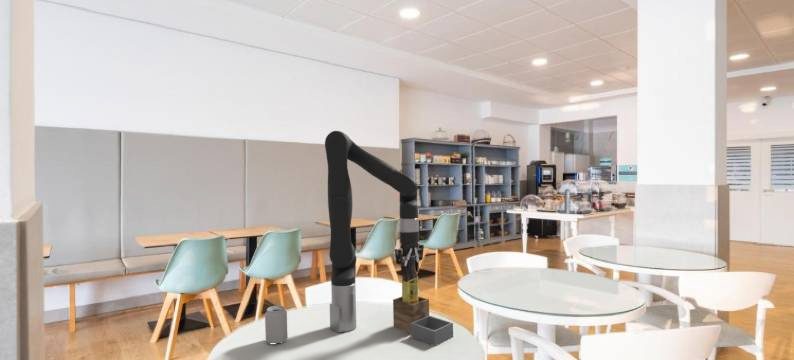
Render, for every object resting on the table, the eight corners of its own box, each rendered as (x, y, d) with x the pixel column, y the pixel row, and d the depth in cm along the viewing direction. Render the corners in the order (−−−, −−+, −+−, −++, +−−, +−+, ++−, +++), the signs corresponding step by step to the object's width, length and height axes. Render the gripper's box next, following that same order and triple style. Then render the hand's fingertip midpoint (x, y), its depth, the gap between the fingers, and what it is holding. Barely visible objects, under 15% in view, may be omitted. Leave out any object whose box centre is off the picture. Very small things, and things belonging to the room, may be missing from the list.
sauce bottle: (412, 311, 147) (411, 258, 146) (398, 308, 150) (397, 256, 150) (422, 306, 152) (421, 255, 151) (408, 303, 156) (407, 253, 155)
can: (267, 347, 136) (266, 312, 135) (264, 339, 142) (263, 306, 142) (289, 342, 139) (288, 308, 139) (285, 335, 146) (284, 303, 145)
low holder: (434, 346, 134) (434, 331, 134) (410, 336, 142) (410, 323, 142) (453, 336, 141) (452, 323, 141) (429, 328, 149) (429, 315, 149)
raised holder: (413, 333, 144) (412, 305, 144) (393, 326, 152) (393, 299, 151) (429, 326, 151) (428, 299, 151) (410, 320, 158) (409, 294, 158)
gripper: (414, 227, 158) (415, 268, 159) (388, 231, 148) (389, 275, 149) (429, 228, 153) (429, 271, 153) (403, 233, 143) (403, 279, 143)
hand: (410, 273), depth 151 cm, fingers closed on sauce bottle, 5 cm apart
